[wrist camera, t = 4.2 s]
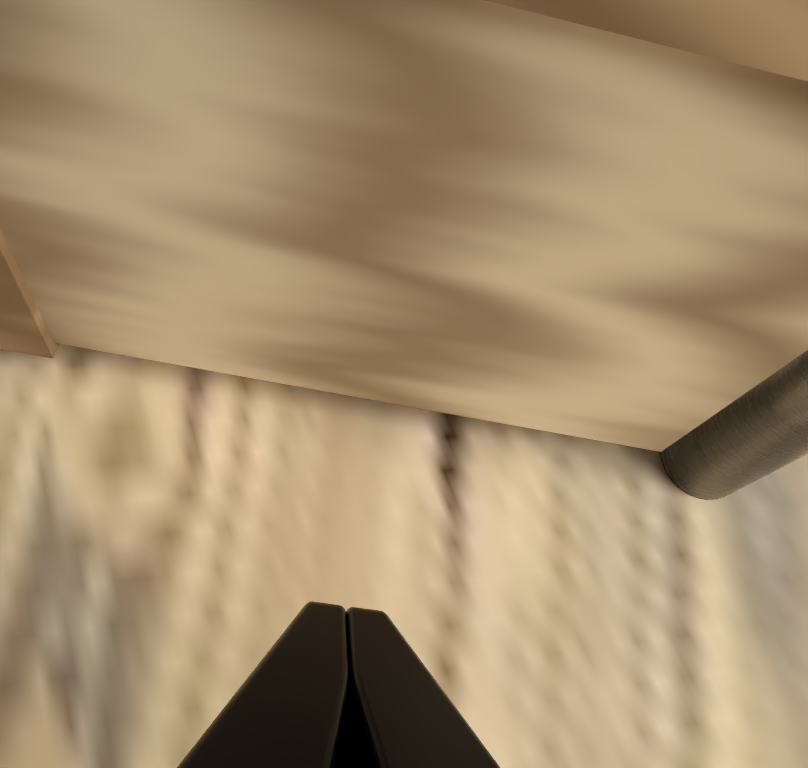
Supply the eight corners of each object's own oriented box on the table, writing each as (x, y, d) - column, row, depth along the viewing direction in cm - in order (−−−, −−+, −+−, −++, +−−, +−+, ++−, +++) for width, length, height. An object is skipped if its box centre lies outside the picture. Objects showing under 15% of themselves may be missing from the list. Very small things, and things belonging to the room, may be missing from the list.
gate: (659, 395, 20) (1178, -37, 9) (663, 466, 19) (1244, 83, 8) (1, 270, 18) (-386, -493, 7) (-29, 343, 17) (-532, -399, 6)
